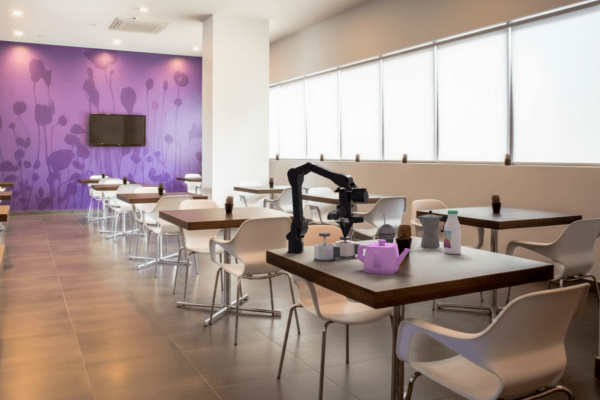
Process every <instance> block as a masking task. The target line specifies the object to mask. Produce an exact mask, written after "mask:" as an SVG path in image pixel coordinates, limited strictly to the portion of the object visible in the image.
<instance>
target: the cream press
mask: <svg viewBox="0 0 600 400" xmlns="http://www.w3.org/2000/svg"><path fill="white" fill-rule="evenodd" d="M334 243H335V244H334V245H335V247H340V258H339V259H354V258H357V253H358V246H359V245H361V243H356V241H354V240H346V243H345V242H344V240H337V241H335V242H334ZM353 257H354V258H353Z"/></svg>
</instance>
